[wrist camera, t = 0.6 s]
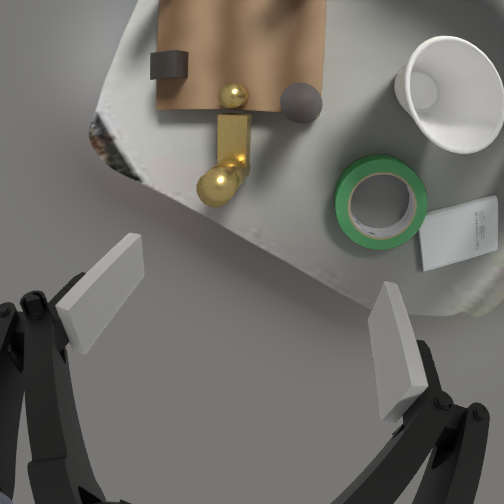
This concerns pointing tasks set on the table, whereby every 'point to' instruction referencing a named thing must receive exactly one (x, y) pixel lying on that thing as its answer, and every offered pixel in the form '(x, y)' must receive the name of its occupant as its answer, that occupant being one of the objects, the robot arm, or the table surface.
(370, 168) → the tape roll
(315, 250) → the table surface
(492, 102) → the cup
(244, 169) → the leg
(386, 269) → the table surface
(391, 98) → the table surface
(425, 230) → the external hard drive
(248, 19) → the wooden peg board
